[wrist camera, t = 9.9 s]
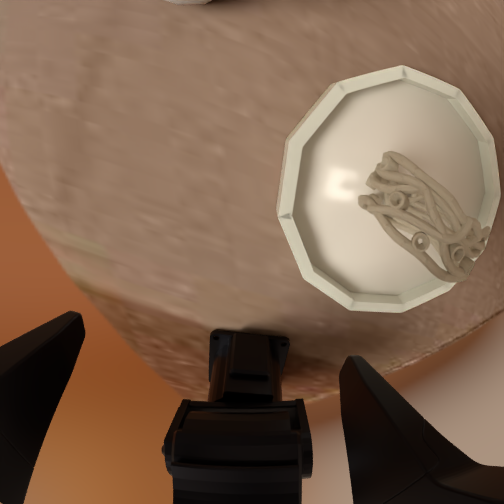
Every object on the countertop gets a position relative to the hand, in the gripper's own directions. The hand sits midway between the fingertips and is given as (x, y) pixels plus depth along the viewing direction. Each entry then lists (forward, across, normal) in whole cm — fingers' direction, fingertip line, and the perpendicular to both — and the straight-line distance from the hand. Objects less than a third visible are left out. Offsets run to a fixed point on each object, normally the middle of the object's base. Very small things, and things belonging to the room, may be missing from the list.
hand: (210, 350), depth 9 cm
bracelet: (+12, -10, -4) cm, 16 cm away
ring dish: (+12, -11, -4) cm, 17 cm away
